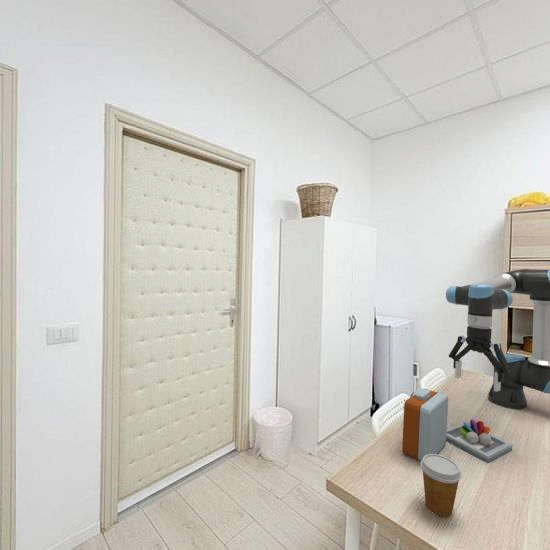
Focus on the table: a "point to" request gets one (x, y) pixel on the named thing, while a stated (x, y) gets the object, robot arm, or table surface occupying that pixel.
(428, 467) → the disposable coffee cup
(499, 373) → the robot arm
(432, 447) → the rectangular block
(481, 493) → the table surface
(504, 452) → the square gray tray
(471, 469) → the table surface
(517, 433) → the table surface
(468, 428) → the rainbow disc rolling toy
